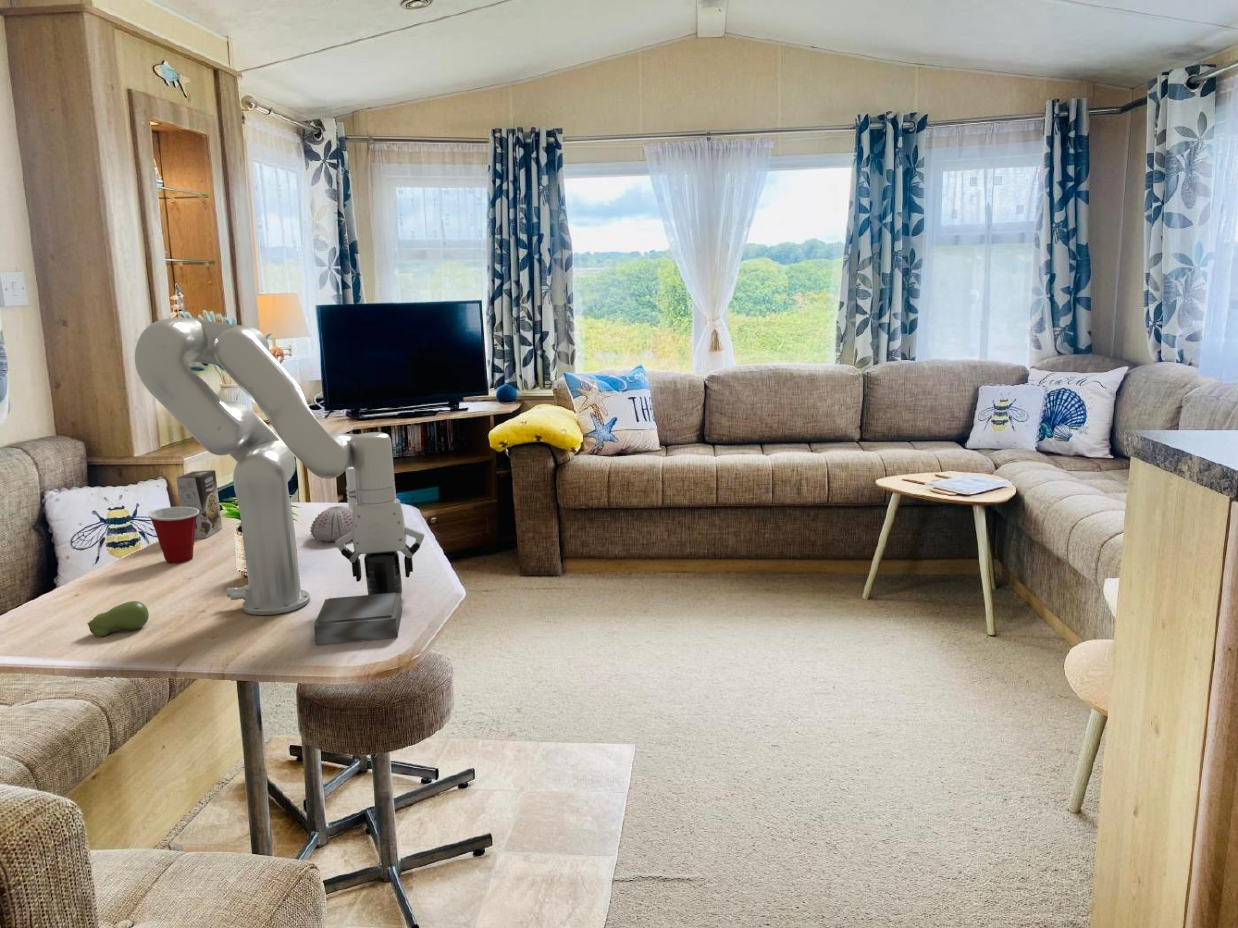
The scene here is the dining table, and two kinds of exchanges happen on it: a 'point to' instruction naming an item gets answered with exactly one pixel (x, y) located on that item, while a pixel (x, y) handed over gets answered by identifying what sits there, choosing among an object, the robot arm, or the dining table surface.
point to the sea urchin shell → (332, 524)
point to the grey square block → (358, 618)
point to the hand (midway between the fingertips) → (383, 577)
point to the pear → (120, 618)
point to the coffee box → (201, 500)
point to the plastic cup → (175, 532)
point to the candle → (350, 485)
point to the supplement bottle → (383, 573)
